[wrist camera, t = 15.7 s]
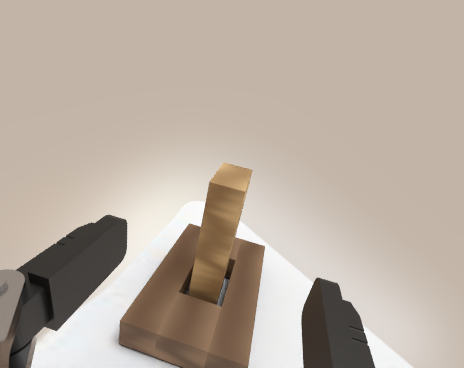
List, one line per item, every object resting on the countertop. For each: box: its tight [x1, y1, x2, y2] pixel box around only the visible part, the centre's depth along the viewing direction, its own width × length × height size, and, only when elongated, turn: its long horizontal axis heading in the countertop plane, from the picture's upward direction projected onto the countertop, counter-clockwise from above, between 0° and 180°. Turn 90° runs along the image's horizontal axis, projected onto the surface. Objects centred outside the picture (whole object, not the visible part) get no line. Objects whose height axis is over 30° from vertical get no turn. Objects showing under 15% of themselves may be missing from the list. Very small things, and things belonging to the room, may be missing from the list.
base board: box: [119, 224, 265, 368], centre depth 28 cm, size 11×16×3 cm
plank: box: [188, 163, 252, 305], centre depth 26 cm, size 3×6×15 cm, turn 169°
